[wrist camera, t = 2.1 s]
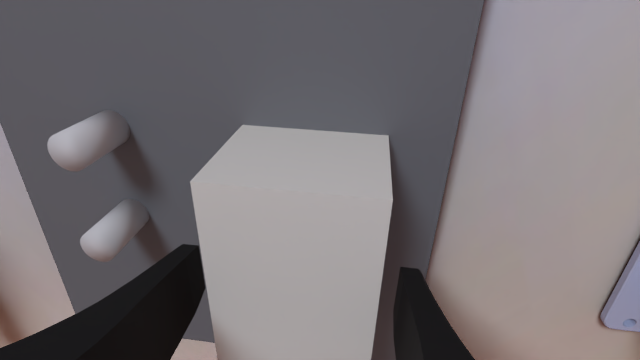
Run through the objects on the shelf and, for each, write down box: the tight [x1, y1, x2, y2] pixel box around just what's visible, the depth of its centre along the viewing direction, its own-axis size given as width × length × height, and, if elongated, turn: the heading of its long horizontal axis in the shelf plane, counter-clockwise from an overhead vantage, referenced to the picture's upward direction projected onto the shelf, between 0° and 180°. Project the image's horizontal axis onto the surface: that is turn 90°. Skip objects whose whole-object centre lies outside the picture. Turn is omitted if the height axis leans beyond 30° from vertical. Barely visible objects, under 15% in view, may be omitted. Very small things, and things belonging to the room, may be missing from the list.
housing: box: [190, 125, 393, 360], centre depth 14 cm, size 9×5×4 cm, turn 178°
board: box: [0, 0, 484, 360], centre depth 15 cm, size 18×18×4 cm
